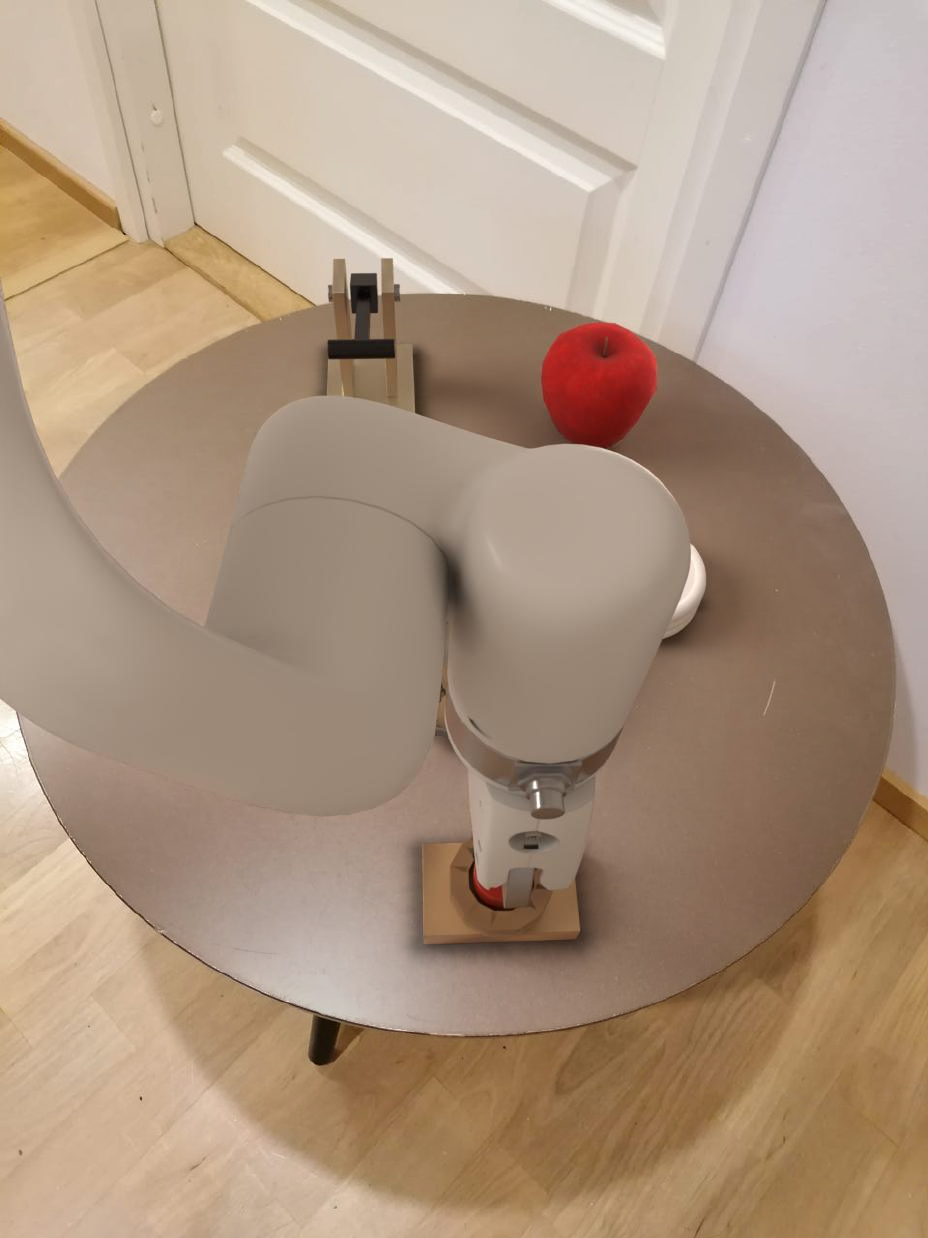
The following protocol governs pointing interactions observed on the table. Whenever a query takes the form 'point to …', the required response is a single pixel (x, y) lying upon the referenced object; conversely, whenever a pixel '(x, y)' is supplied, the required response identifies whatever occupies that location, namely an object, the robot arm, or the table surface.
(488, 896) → the button
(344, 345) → the lever
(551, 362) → the apple
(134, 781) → the table surface
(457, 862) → the button block
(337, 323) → the bracket
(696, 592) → the coaster
